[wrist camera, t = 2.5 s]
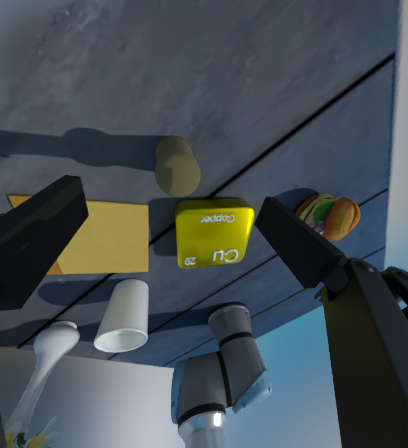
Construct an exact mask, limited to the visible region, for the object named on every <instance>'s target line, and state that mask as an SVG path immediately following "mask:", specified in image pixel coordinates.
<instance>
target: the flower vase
mask: <svg viewBox="0 0 408 448" xmlns="http://www.w3.org/2000/svg"><path fill="white" fill-rule="evenodd" d="M78 341H79V332H78V330H77V325H76V324H75V323H73V322H70V321H58V322H55V323H53V324H52V325H51V326H50V327H49V328H47V329H45V330H43V331H42V332H41V333H39V334H38V335H37V337H36V339H35V341H34V350H35V353H36V355H37V360H36V366H35V369H34V372H33V374H32V377H31V379H30V381H29V383H28V385H27V387H26V389H25V392H24V394H23V396H22V398H21V400H20V402H19V404H18V405H17V407H16V409H15V411H14V412H13V414H12V415H11V417H10V419H9V420H8V422H7V423H6V425H5V426H4V427H3V428H4V433H5V437H6V442H7V447H8V448H50V447H48V446H49V445H50V444H51V443H52V442H54V440H55V439H56V438H57V437H58V435H59V431H58V430H56V431H53V432H50V433H48V434H46V433H47V432H48V431H49V430H50V429H51V428H52V426H53V425H54V423H55V421H56V418H57V416H54V417H53V418H52V419H51V420H50V421H49V422H48V424H47V425H46V426H45V427H44V428H43V429H42V430H41V431H40V432H39V433H38V434H37V435H36V436H33V437H32V438H30V439H29V440H28V441H26V440H24V438H23V437H24V435H26V434H27V433H28V432H29V429H30V421H31V418H32V415H33V411H34V408H35V406H36V403H37V401H38V398H39V396H40V394H41V392H42V390H43V388H44V385H45V383H46V381H47V379H48V377H49V375H50V373H51V371H52V370H53V368H54V366H55V365H56V364H57V362H58V361H59V360H60V359H61V358H62V356H64V355H65V354H66V353H68V352H69V351H70V350H71V349H73V348H74V346H75V345H76V344H77V342H78ZM17 437H18V439H17V444H18V446H17V445H16V444H14V441H15V439H16V438H17ZM21 444H22V445H24V447H22V446H21Z"/></svg>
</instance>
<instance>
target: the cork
mask: <svg viewBox="0 0 408 448" xmlns="http://www.w3.org/2000/svg"><path fill="white" fill-rule="evenodd" d="M155 156H156V161H157V163H156V168H155V179H156V181H157V183H158V186H159V187H160V188H161V189H162V190H163V191H164V192H165V193H167V194H168V195H170V196H174V197H184V196H187V195H189V194H191V193H192V192H193V191H194V190H195V189H196V188H197V187H198V184H199V182H200V177H201V171H200V167H199V164H198V163H197V161H196V160H195V158H194V157H193V152H192V148H191V147H190V145H189V144H188V142H187V141H185V140H184V139H183V138H181V137H178V136H169V137H165V138H164V139H162V140H161V141H160V142H159V144H158V145H157V147H156V152H155Z"/></svg>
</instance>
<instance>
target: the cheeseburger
mask: <svg viewBox="0 0 408 448" xmlns="http://www.w3.org/2000/svg"><path fill="white" fill-rule="evenodd" d="M295 215H297V216H298V217H299V218H300V219H302V220H303V221H304V222H305V223H307V224H308V225H309V226H310V227H312V228H313V229H314V230H315V231H317V232H318V233H319V234H321V233H323V235H324V237H325V239H327V240H331V241H339V240H340V239H342V238H343V237H344V236H345V235H346V234H347V233H349V232H350V231H351V230H352V229H353V228H354V227H355V226H356V225H357V223H358V222H359V219H360V216H361V214H360V210H359V207H358V206H357V204H356V203H355V202H354V201H352V200H350V199H348V198H345V197H343V198H340V199H339V198H335V197H333V196H332V195H330V194H320V195H314V196H312V197H309V198H308V199H307V200H306V201H305V202H303V203H302V205H301V206H300V207H299V208H298V209H297V211H296V213H295Z"/></svg>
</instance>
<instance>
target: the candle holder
mask: <svg viewBox="0 0 408 448" xmlns="http://www.w3.org/2000/svg"><path fill="white" fill-rule="evenodd" d="M148 300H149V288H148V285H147V284H146V283H145V282H143V281H141V280H137V279H127V280H123V281H121V282H119V283H118V284H117V285H116V286H115V288H114V290H113V292H112V295H111V298H110V300H109V303H108V306H107V308H106V311H105V314H104V316H103V319H102V322H101V325H100V327H99V330H98V333H97V335H96V338H95V340H94V346H95V347H96V348H97V349H99V350H101V351H105V352H125V351H130V350H133V349H136V348H138V347H140V346H142V345H143V344H145V343H146V341H147V339H148Z"/></svg>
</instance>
